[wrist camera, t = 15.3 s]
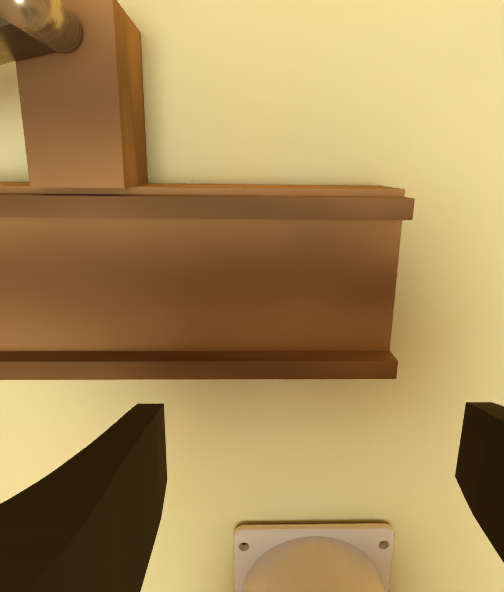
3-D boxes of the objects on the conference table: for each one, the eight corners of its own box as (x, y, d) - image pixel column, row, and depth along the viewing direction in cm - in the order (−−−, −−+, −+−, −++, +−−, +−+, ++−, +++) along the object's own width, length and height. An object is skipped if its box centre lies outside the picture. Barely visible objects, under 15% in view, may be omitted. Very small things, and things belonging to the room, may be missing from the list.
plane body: (366, 344, 21) (395, 384, 17) (7, 345, 21) (-46, 386, 17) (392, 37, 18) (434, 1, 14) (-37, 28, 17) (-116, -10, 13)
